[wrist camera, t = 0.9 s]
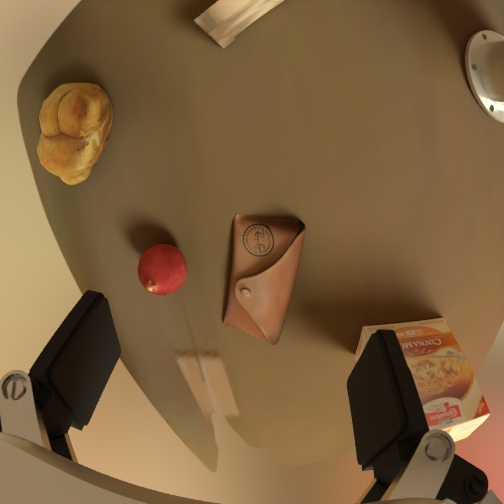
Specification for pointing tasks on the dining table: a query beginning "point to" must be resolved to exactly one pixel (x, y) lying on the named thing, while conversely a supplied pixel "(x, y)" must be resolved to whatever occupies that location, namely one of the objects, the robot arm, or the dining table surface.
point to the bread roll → (74, 130)
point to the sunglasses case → (263, 274)
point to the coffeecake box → (438, 375)
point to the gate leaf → (232, 17)
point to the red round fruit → (162, 269)
